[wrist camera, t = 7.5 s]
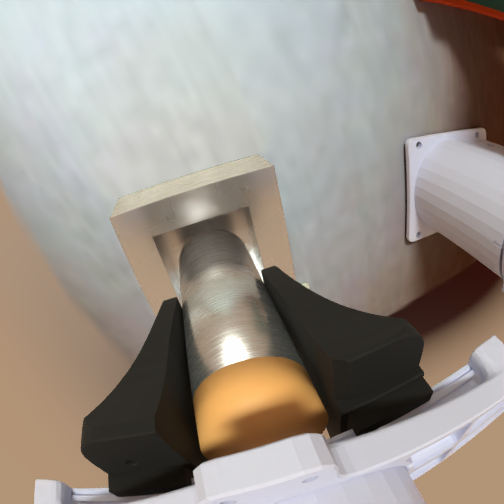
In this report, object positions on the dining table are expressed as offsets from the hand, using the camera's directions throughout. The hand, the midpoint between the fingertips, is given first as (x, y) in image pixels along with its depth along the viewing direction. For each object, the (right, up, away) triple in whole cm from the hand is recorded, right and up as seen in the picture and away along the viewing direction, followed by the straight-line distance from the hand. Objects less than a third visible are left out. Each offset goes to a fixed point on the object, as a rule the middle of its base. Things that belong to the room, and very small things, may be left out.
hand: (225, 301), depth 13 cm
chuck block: (-2, +3, +5) cm, 6 cm away
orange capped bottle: (-1, +2, +3) cm, 3 cm away
